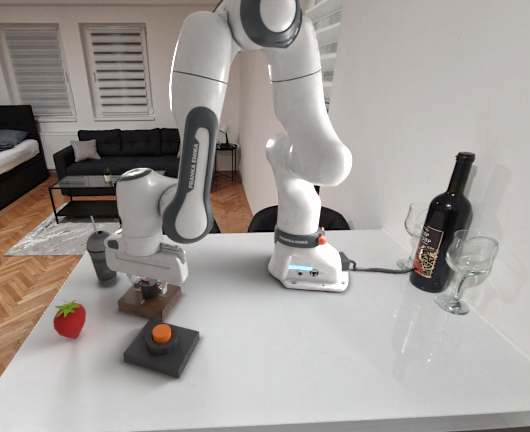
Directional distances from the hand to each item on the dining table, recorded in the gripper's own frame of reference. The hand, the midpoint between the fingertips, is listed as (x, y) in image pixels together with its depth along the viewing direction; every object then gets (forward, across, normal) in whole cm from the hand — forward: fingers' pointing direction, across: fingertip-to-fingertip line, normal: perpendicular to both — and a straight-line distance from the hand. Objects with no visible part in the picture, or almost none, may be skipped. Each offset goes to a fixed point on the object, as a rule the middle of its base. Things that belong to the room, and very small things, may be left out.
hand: (149, 289), depth 74 cm
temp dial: (+1, 0, 0) cm, 1 cm away
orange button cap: (+1, -10, +12) cm, 16 cm away
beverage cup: (+4, +16, -4) cm, 17 cm away
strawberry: (+4, +10, +15) cm, 19 cm away
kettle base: (+4, -10, +12) cm, 16 cm away
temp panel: (+4, 0, 0) cm, 4 cm away
